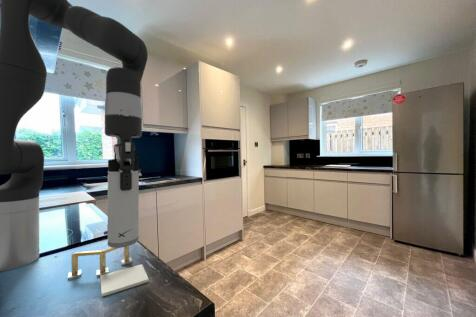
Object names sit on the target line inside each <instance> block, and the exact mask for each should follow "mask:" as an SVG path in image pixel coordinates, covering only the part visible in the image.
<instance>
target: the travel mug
mask: <svg viewBox="0 0 476 317" xmlns="http://www.w3.org/2000/svg"><path fill="white" fill-rule="evenodd" d="M134 159H135V160H134V166H135V169H134V170H133V173H132V189H131V190H126V191H122V190H120V172H119V164H118V163H117V159H114V158H113V159H108V160H107V167H108V168H107V246H108V248H110V247H112V248H118V249H120V248H121V249H122V248H124V247H127V246H129V247H130V246H132V245H134V244H136V243H137V242H138V241H139V223H140V222H139V218H140V217H139V215H140V214H139V213H140V212H139V200H140V199H139V196H140V195H139V194H140V191H139V184H140V183H139V182H140V181H139V180H140V179H139V172H140V171H139V160H140V156H134ZM124 165H129V163H124Z"/></svg>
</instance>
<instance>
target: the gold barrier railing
mask: <svg viewBox="0 0 476 317" xmlns="http://www.w3.org/2000/svg"><path fill="white" fill-rule="evenodd" d="M117 249H119V248H112V247H107V248H105V249H102V250H87V251H77V252H74V253H72V254H71V272H68V276H67V281H70V280H73V279H77V278H81V277H82V269H79V257H82V256H83V257H84V256H97V255H98V256H99V269H96V278H100V275H104V274H108V273H110V271H109V267H106V266H107V264H106V261H107V260H106V258H107V257H106V255H107V253H110V252H112V251H116V250H117ZM120 263H121V266H122V267H123V266H126V265H130V264H133V259H132V257H131V256H130V246H127V247H123V259H121V260H120Z"/></svg>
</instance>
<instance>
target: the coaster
mask: <svg viewBox="0 0 476 317" xmlns="http://www.w3.org/2000/svg"><path fill="white" fill-rule="evenodd" d="M147 274H148V273H147V271H146V269H145V268H144V265H143V264H142V263H141V264H138V265H134V266H131V267H126V268H122V269H120V270H115V271H112V272H109V273H108V274H104V275H100V277H99V278H100V293H101V298H102V297H105V296H108V295H112V294H115V293H117V292H118V293H119V292H122V291H124V290H128V289H130V288H133V287H136V286H140V285H143V284H146V283H148V282H150V280H149V279H150V278H149V277H148V275H147Z"/></svg>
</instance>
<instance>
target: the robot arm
mask: <svg viewBox="0 0 476 317" xmlns="http://www.w3.org/2000/svg"><path fill="white" fill-rule="evenodd" d="M0 3H1V4H0V175H9V174H11V175H10V176H11V177H10V178H9V180H7V181H6V182H5V183H4V184H1V185H0V272H4V271H5V272H6V271H8V270H9V271H10V270H14V269H18V268H20V267H24V266H27V265H30V264H31V263H33V262H35V261H37V260H38V259H39V258H40V192H41V191H40V190H41V189H42V188H43V184H44V170H45V169H44V167H45V155H44V150H43V148H42V146H41V144H39V143H38V142H36V141H35V140H29V139H18V138H17V139H16V138H15V135H16V131H17V128H18V125H19V123H20V121H21V120H22V119H23V117H24V116H25V115H27V113H28V112H29V111H30V110H31V109H32V108H34V106H36V105H37V104H38V102H40V100H41V99H42V98H43V96H44V93H45V88H46V83H47V82H46V81H47V75H48V74H47V72H48V71H47V67H46V64H45V62H44V59H43V57H42V54H41V52H40V50H39V48H38V47H37V45H36V42H35V40H34V38H33V36H32V32H31V29H30V16H32V17H34V18H35V19H37V20H38V21H41V22H43V23H46V24H48V25H51V26H55V27H57V28H58V27H59V28H62V29H65V30H67V31H69V32H70V33H72V34H73V35H74V36H76V37H78V38H80V39H81V40H82V41H85V42H86V43H89V44H91V45H92V46H94V47H97V49H99V50H101V51H103V52H104V53H106V54H107V55H110V56H111V57H113V58H115V59H117V60H118V61H120V62H121V66H120V67H119V66H115V67H114V66H113V67H110V68H109V69H108V70H107V72H106V75H105V79H106V80H105V99H104V100H105V101H104V134H105V136H106V137H111V138H116V139H117V140H116V143H114V144H113V153H114V155H113V156H114V158H113V159H117V163H118V164H119V172H120V190H122V191H126V190H131V189H132V173H133V170H134V169H135V166H134V160H135V159H134V157H135V150H136V144H135V142H133V141H132V139H139V138H141V137H142V136H143V129H142V128H143V125H142V124H143V109H142V108H143V106H142V98H141V97H142V96H141V95H142V94H141V92H142V89H141V88H142V87H141V85H142V84H141V81H142V78H143V75H144V72H145V69H146V66H147V62H148V48H147V45H146V43H145V42H144V40H143V39H141V37H139V36H138V35H137V34H135V33H134V32H133V31H131V30H130V29H129V28H128V27H126V26H125V25H124V24H122V23H121V22H120V21H117V20H115V19H114V18H111V17H109V16H102V15H100V14H99V13H97V12H94V11H93V10H91V9H88V8H86V7H83V6H81V5H73V4H71V3H70V2H69V1H68V0H0ZM124 163H129V165H124Z"/></svg>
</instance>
